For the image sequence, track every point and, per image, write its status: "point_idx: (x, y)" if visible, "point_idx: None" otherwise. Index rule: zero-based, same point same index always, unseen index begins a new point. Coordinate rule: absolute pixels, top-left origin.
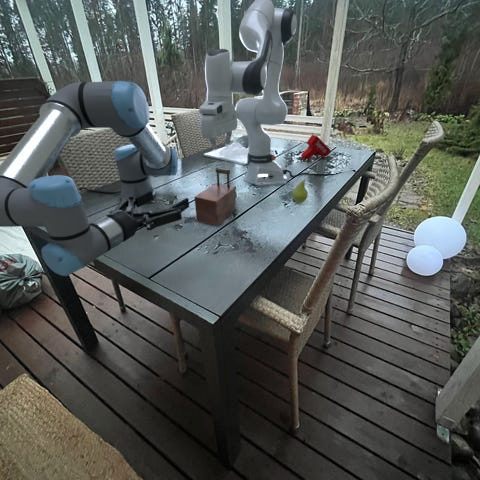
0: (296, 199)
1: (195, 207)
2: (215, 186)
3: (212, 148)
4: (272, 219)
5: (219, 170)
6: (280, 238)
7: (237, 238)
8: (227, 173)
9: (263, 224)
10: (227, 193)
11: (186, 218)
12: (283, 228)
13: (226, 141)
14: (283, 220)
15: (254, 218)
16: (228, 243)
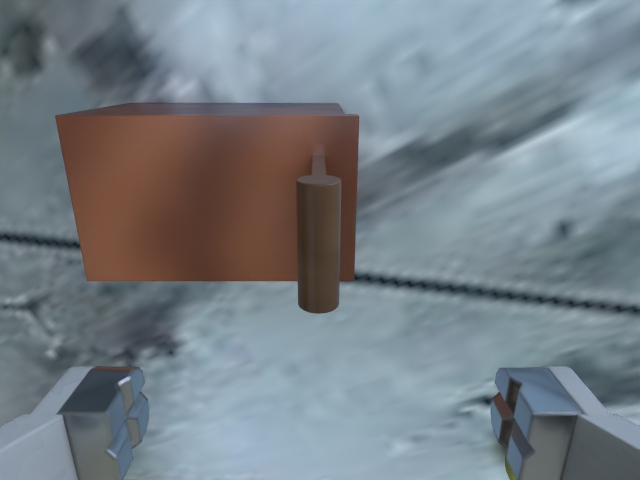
0: (505, 458)
1: (93, 109)
2: (293, 150)
3: (69, 375)
4: (322, 398)
5: (298, 225)
6: (201, 460)
7: (112, 342)
8: (298, 296)
9: (264, 383)
10: (230, 280)
11: (118, 29)
12: (272, 450)
13: (515, 411)
14: (333, 434)
15: (295, 335)
16: (61, 329)
